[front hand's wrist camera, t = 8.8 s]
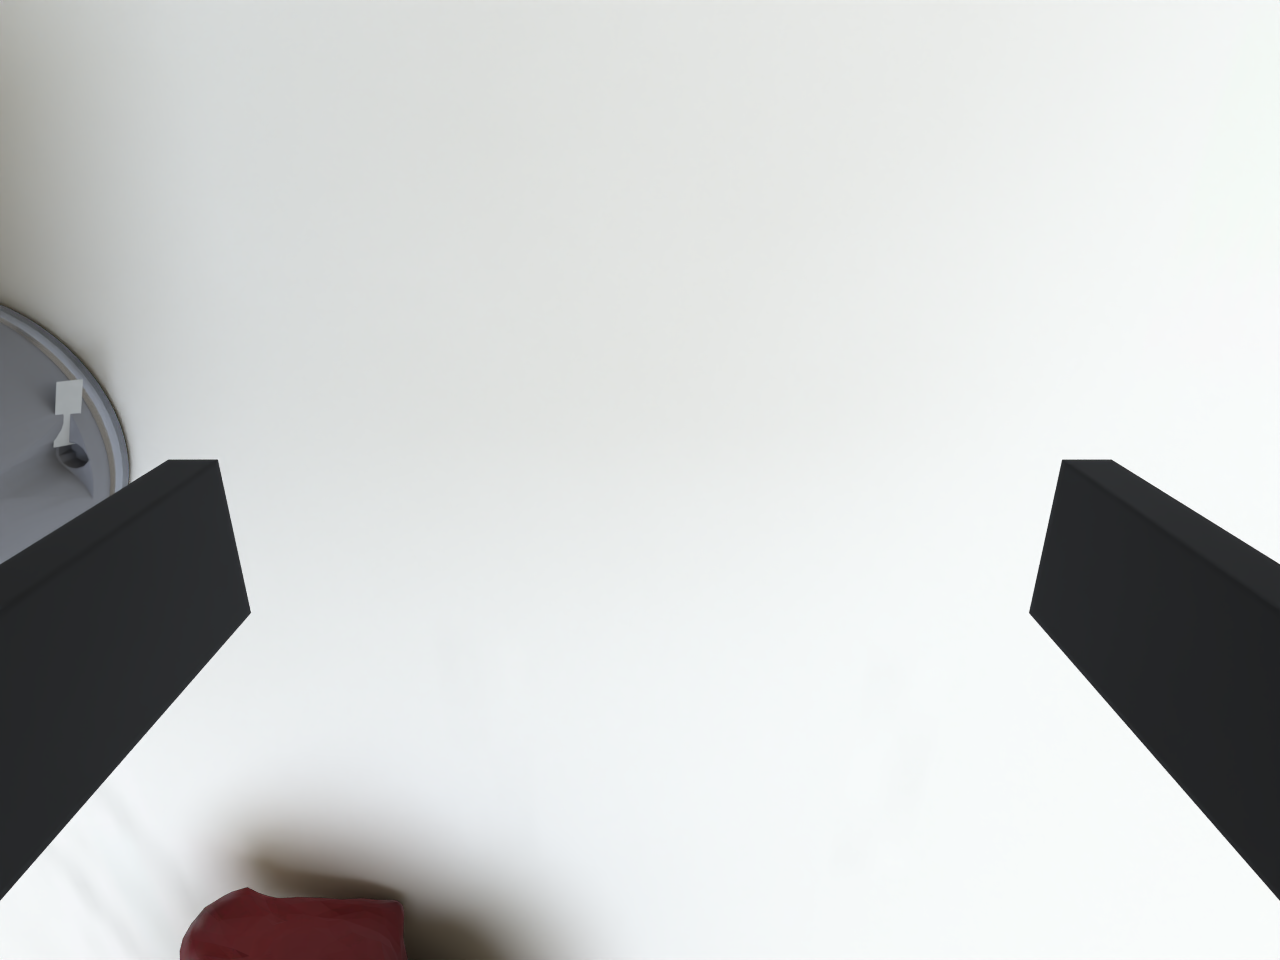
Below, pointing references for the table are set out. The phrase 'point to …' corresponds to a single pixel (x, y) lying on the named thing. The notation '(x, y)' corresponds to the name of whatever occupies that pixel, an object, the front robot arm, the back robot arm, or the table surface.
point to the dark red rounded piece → (295, 929)
